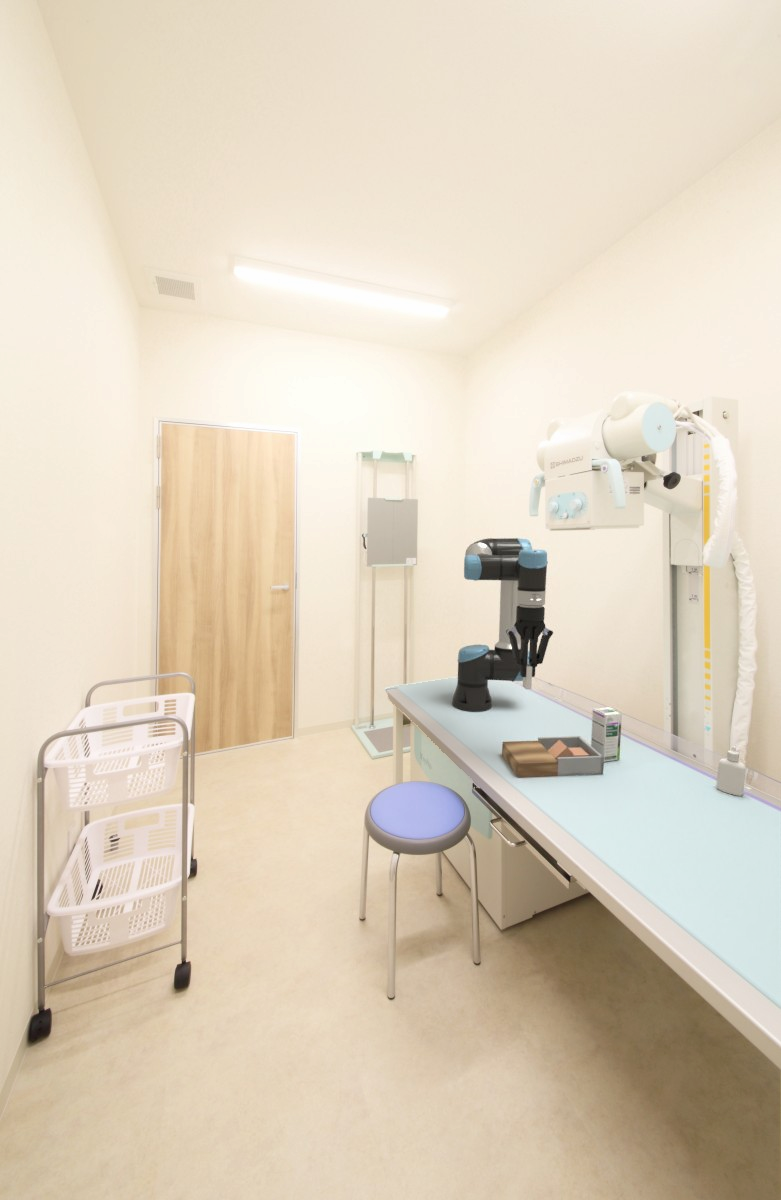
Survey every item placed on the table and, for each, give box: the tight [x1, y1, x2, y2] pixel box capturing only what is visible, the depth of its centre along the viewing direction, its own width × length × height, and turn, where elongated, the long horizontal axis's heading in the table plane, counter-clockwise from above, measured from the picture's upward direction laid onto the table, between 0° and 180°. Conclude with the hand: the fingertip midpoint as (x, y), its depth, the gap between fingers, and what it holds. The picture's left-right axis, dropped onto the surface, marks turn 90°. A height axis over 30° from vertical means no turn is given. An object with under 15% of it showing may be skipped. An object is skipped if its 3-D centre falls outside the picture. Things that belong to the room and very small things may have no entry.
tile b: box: [569, 747, 589, 757], centre depth 136 cm, size 5×5×3 cm
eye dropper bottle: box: [715, 745, 747, 797], centre depth 121 cm, size 4×6×12 cm
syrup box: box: [590, 706, 623, 763], centre depth 140 cm, size 6×6×14 cm
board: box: [501, 740, 559, 779], centre depth 135 cm, size 14×11×4 cm
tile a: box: [548, 740, 573, 760], centre depth 136 cm, size 5×5×3 cm
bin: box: [537, 735, 605, 777], centre depth 136 cm, size 14×13×5 cm
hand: (527, 687), depth 134 cm, fingers closed
